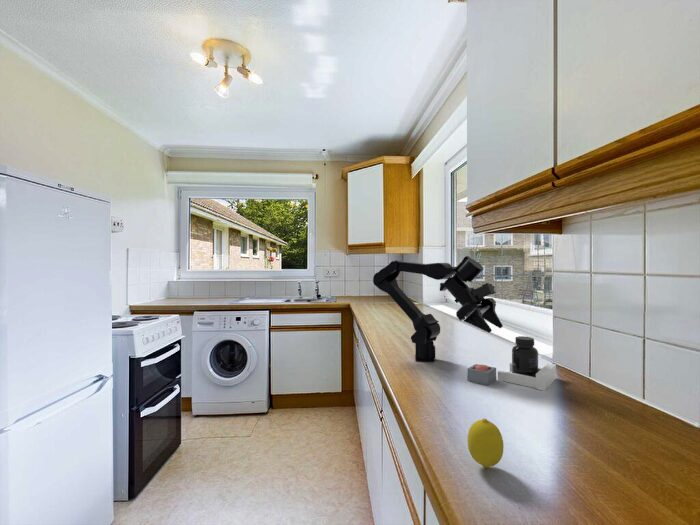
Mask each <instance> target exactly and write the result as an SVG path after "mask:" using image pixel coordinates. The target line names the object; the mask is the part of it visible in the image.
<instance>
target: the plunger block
mask: <svg viewBox="0 0 700 525" xmlns="http://www.w3.org/2000/svg"><path fill="white" fill-rule="evenodd" d="M475 365H479V363H474V364H473V365H471V366H469V367H467V369H466V370H467V372H466V376H467V382H471V383H476V384H479V385H480V384H481V385H485V386H490V385H491V384H493V383H495V382H496V381H497V367H493V366H488V365H487V366H488V371H481V370H476V369H475Z"/></svg>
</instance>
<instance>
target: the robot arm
mask: <svg viewBox="0 0 700 525" xmlns="http://www.w3.org/2000/svg"><path fill="white" fill-rule="evenodd" d="M483 270H484V267H483V266H482V264H481V263H480V262H478V261H476V260H475V259H473V258H472V257H470V256H469V255H466V256H464V257H463V258H462V260H461V262H459V264H457V266H452V264H451V263H449V262H431V263H421V262H420V263H419V262H415V261H414V262H413V261H405V260H399V259H398V260H395V259H394V260H392V261H391V262H390V263H388V265H386V266H384V267H383V268H382V269H380V270H379V271H378V272H375V273H374V275H373V279H372V280H373V281H372V284H373V285H374V286H375V287H376V288H377V289H379V290H380V291H381V292H383V293H386V294H387V295H388V296H390V298H391V299H392V300H393V301H394V302H395V303H396V305H397V306H398V307H399V308H400V309H401V310H402V311H403V312H404V313H405V315H406V316H407V317H408V319H410V321H411V322H412V326H413V329H414V331H415V332H414V333H413V334H412V335H411V336H410V340H411V343H413V344H414V347H415V348H414V349H415V350H414V351H415V354H414V360H415V361H416V362H417V361H418V362H435V359H436V345H435V344H434V342H436V341H437V338H438V336H439V335H440V333H441V326H440V323H439V320H437V319H436V318H435V317H434V315H433V314H432V313H428V314H427V313H424V312H422V311H421V310H420V309H419V308H418V306H417V305H416V304H415V303H414V302H413V301H412V300H411V299H410V297H409V296H408V295H407V294H406V293H405V292H404V291H403V290H402V289H401V288H400V287H399V284H398V280H397V278H398V277H399V276H400V274H401V272H405V273H411V274H418V275H423V276H426V277H428V278H430V279H434V280H437V281H438V280H439V281H441V280H445V281H444V282H440V283H439V285H440V286H439V291H440V292H445V291H448V293H450V295H452V296H453V298H455V299H454V302H455V303H457V304H460V305H461V307H460V308H458V310H457V311H455V312H456V314H455V315H456V318H457V319H458V320H459V321H460V322H462V321H463V322H464V323H467V324H469V325H471V326H474V327H476V328H478V329H481V330H482V331H484V332H486V333H489V334H490V333H492V328H491V327H490V325H489V323H491V324H492V325H493V326H496V327H497V328H499V329H502V328H503V327H504V326H503V324H502V322H501V320H500V318H499V317H498V314H497V311H496V306H497V304H496V303H497V301H496V300H495V299H494V298H493V297H487V296H490V295H494V294H496V290H495V289H496V287H495V286H494V285H493V283H490V282H485V283H483V284H482V285H480V286H479V287H477V288H474V287H469V286H468V284H466V283H467V282H468V283H472V282H473V281H474V280H475V279H476V278H477V277H478V276H479V275H480V274H481V273H482V271H483ZM485 297H486V298H485ZM487 322H489V323H487Z"/></svg>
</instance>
